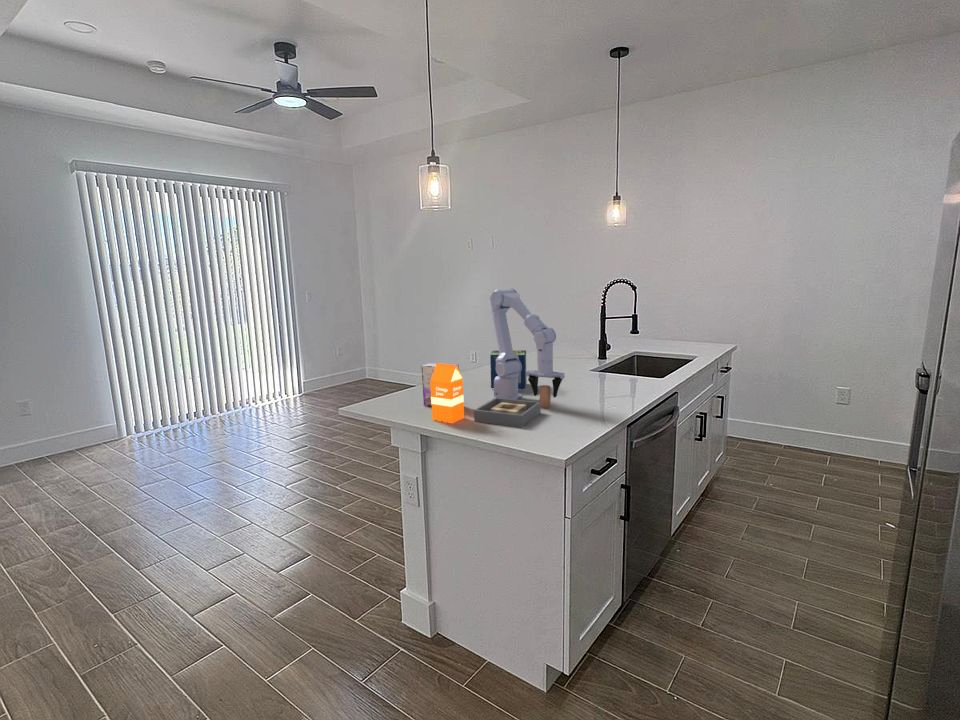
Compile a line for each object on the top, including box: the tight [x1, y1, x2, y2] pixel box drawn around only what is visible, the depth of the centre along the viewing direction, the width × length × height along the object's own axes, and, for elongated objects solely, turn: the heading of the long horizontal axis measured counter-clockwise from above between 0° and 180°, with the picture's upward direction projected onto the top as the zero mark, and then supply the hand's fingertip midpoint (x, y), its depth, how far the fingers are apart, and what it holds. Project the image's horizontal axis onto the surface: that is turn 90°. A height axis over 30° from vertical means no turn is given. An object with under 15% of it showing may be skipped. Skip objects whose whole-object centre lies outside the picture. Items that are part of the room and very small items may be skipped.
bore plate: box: [490, 402, 527, 415], centre depth 187 cm, size 10×10×2 cm
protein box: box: [489, 349, 528, 390], centre depth 228 cm, size 10×15×16 cm
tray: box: [473, 398, 541, 428], centre depth 184 cm, size 18×18×4 cm
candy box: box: [421, 362, 460, 407], centre depth 200 cm, size 14×6×16 cm, turn 65°
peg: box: [539, 384, 552, 409], centre depth 195 cm, size 4×4×8 cm
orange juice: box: [430, 362, 465, 424], centre depth 182 cm, size 8×9×20 cm
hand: (545, 395), depth 195 cm, fingers open, 7 cm apart
